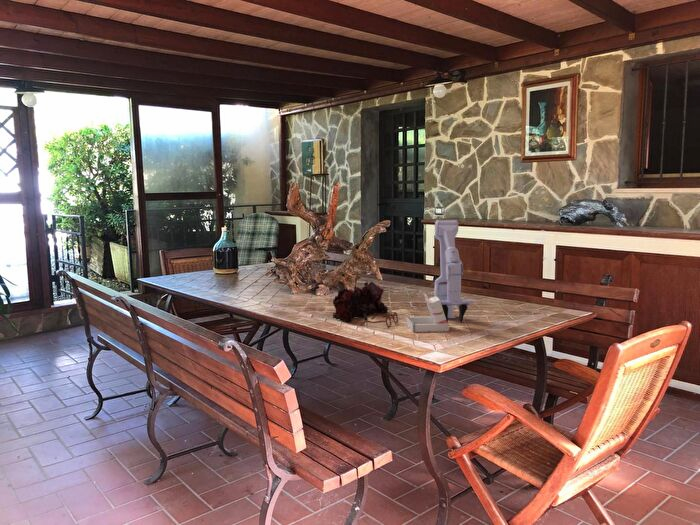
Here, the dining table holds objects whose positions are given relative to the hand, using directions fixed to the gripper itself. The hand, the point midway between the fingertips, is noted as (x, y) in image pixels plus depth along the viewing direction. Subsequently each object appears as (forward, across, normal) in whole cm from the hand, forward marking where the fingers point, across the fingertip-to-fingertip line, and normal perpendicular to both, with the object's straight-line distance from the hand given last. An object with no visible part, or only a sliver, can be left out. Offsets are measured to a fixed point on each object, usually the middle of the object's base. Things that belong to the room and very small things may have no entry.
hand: (453, 322), depth 231 cm
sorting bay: (+2, -11, 0) cm, 11 cm away
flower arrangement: (+2, -38, +27) cm, 47 cm away
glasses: (+3, -30, +9) cm, 32 cm away
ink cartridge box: (+1, -5, 0) cm, 5 cm away
